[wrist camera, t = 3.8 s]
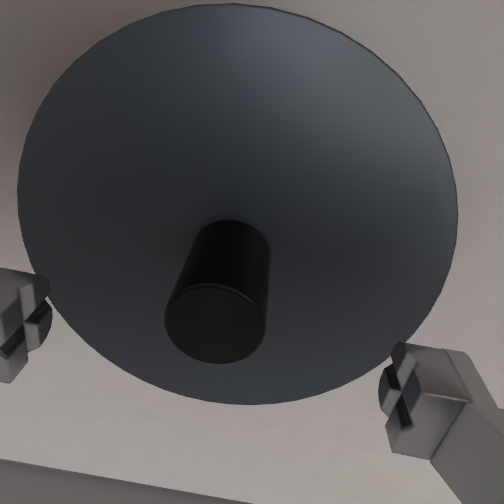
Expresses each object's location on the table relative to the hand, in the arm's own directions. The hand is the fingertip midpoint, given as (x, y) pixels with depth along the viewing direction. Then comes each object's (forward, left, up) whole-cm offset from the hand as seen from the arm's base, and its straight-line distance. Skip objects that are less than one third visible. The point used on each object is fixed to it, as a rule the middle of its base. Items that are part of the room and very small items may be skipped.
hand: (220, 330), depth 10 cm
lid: (0, 0, -4) cm, 4 cm away
